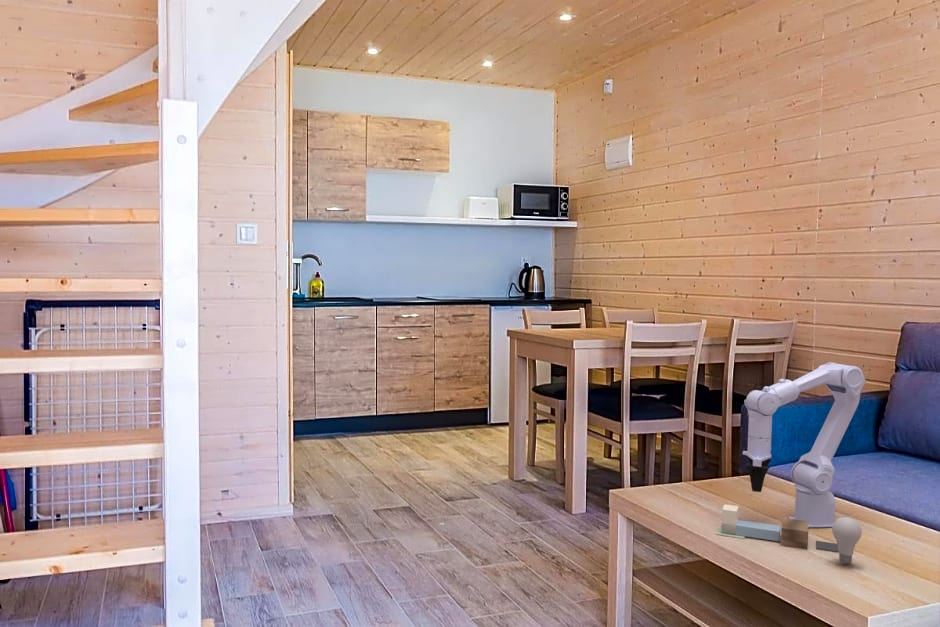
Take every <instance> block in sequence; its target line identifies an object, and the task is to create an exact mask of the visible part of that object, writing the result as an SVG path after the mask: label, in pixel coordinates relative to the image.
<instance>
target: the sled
mask: <svg viewBox="0 0 940 627" xmlns="http://www.w3.org/2000/svg"><path fill="white" fill-rule="evenodd" d="M721 509H722V510H721V526H722V530H721V533H727V534H734V535H741V536H745V537H746V538H747V537H749V538H753V539H761V540H768V541H775V542H781V528H782V525H777V524H776V525H775V524H770V523H761V522H754V521H749V520H741V519H739V506H738V505H732V504H724V505H723V507H722V508H721Z"/></svg>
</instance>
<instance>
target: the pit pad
mask: <svg viewBox="0 0 940 627" xmlns="http://www.w3.org/2000/svg"><path fill="white" fill-rule="evenodd" d="M815 548H816V550H818V551H819V550H820V551H826V552H832V553H833V552H834V553H838V554H839V552H838V544H837V542H836V543H835V542H827V541H821V540H815Z"/></svg>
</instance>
